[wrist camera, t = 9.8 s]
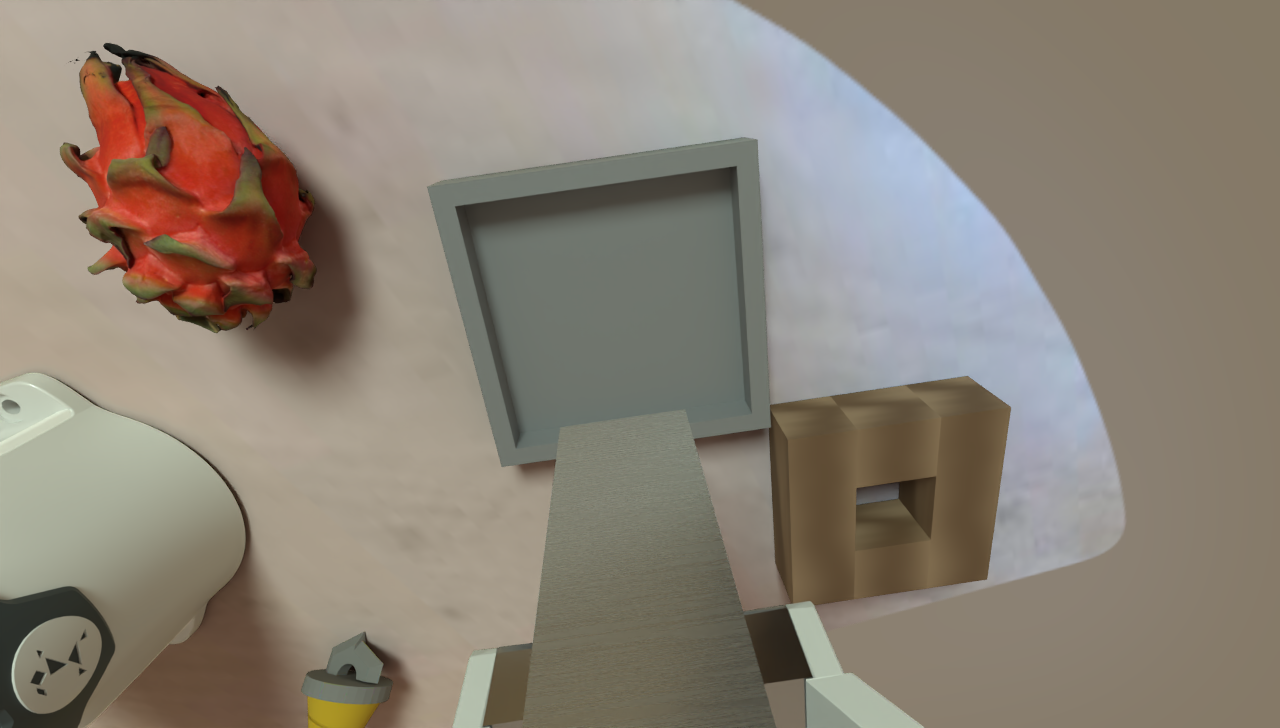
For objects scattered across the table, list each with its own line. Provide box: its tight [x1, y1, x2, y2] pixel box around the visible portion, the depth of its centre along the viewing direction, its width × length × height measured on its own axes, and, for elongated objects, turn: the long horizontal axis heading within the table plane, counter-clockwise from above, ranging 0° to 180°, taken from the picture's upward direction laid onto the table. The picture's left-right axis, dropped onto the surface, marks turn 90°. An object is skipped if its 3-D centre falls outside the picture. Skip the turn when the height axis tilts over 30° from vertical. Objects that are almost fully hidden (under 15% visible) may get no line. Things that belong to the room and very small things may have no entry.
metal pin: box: [522, 409, 776, 728], centre depth 12 cm, size 4×4×11 cm
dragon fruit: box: [60, 43, 317, 333], centre depth 25 cm, size 8×8×12 cm
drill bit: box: [301, 632, 393, 728], centre depth 38 cm, size 5×5×10 cm
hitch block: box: [769, 376, 1011, 605], centre depth 35 cm, size 12×12×4 cm
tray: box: [427, 137, 771, 467], centre depth 31 cm, size 15×15×2 cm
